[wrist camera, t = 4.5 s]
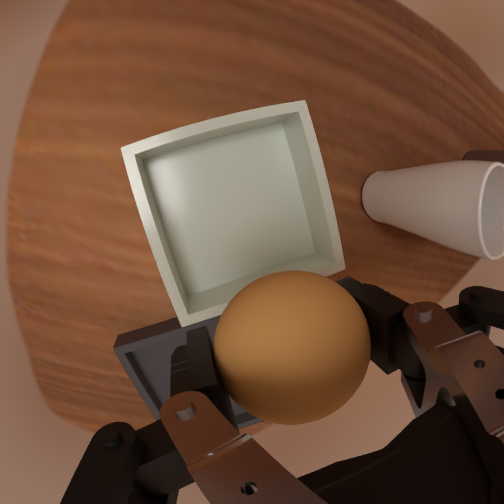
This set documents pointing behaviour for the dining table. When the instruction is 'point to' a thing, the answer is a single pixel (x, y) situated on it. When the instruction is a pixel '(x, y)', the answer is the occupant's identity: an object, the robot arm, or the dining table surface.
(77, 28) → the dining table surface
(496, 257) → the drinking glass
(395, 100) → the dining table surface
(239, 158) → the open box
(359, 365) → the ball
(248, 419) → the tray
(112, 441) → the robot arm
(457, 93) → the dining table surface
